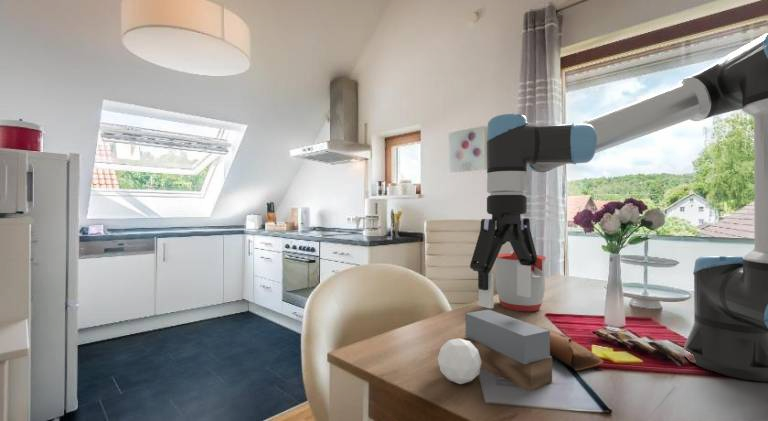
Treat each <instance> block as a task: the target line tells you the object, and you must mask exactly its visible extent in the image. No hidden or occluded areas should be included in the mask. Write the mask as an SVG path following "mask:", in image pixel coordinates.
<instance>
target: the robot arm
mask: <svg viewBox="0 0 768 421" xmlns="http://www.w3.org/2000/svg"><path fill="white" fill-rule="evenodd" d="M739 110H742V111H743V112H744V113H746V114H748V115H750V116H751V117H752V118H753V119H754V120H753V122H754V123H753V124H754V125H753V129H754V130H753V131H754V132H753V134H754V136H753V137H754V138H753V140H754V142H753V144H754V146H753V150H754V151H753V152H754V153H753V154H754V156H753V160H754V161H753V162H754V163H753V164H754V166H753V168H754V174H753V175H754V176H753V177H754V178H753V180H754V185H753V186H754V187H753V188H754V202H753V204H754V219H753V220H754V223H753V224H754V248H753V250H751V251H750V252H748V253H747V254H745V255H744V256H738V255H737V256H736V255H734V256H732V255H728V256H727V255H722V256H721V255H717V256H715V255H712V256H711V255H706V256H705V255H702V256H699V257H698V258H696V259H695V262H694V268H693V272H692V273H693V283H694V284H693V291H694V292H693V294H694V295H693V296H694V297H693V299H694V300H693V305H694V306H693V307H694V308H693V310H694V316H693V317H694V319H693V320H694V322H693V325H692V328H691V330H690V331H689V334H688V336H687V339H686V340H685V343H684V345H683V346H684V347H683V351H684V350H686V351H688V352H690V353H691V354H693V355H694V357H695V360H696V365H695V366H697V365H698V366H697V367H699V366H700V367H699V368H701V367H702V369H704V370H706V369H707V371H709V370H711V371H710V372H712V371H715V372H719V373H722V374H721V375H723V374H724V375H723V376H727V377H732V378H736V379H741V380H748V381H753V382H754V381H755V382H767V383H768V32H767V33H765V34H763V35H762V36H760V37H758V38H756V39H754V40H752V41H751V42H750V43H747V44H746V45H744V46H742V47H740V48H739V49H736V50H735V51H732V52H731V53H729V54H728V55H726V56H725V57H723V58H722V59H720V60H718V61H717V62H715V63H713V64H711V65H710V66H709V67H706V68H704V69H703V70H701V71H699V72H697V73H695V74H692V75H690V76H687V77H685V78H682V79H681V80H680V81H679V82H678V84H677V85H676V86H674V87H672V88H668V89H667V90H664V91H661V92H658V93H656V94H654V95H652V96H651V95H650V96H647V97H646V98H644V99H640V100H637V101H635V102H632V103H630V104H627V105H625V106H622V107H619V108H617V109H614V110H612V111H609V112H606V113H604V114H602V115H601V114H600V115H598V116H596V117H593V118H590V119H588V120H585V121H582V122H580V123H576V122H572V123H568V124H567V123H566V124H564V123H563V124H562V123H561V124H547V125H546V124H544V125H543V124H542V125H529V123H528V119H527V117H526V116H525V115H523V114H521V113H520V114H519V113H517V114H516V113H504V114H499V115H495V116H494V117H492V118H491V119H490V120H489V121H488V122H487V129H486V131H487V134H486V173H487V178H486V192H487V193H488V194H489V195H488V196H487V197H486V212H487V214H489V215H491V218H482V219H481V220H480V230H479V234H478V236H477V242H476V243H475V246H474V251H473V253H472V254H473V255H472V256H471V257H472V258H471V260H470V265H469V267H470V269H471V270H472V271H474V272H477V275H478V278H477V281H478V282H477V286H478V287H477V288H478V307H483V308H487V309H490V310H491V309H494V305H495V304H494V300H495V299H494V296H495V295H494V293H495V292H494V289H495V288H494V286H495V283H494V282H495V281H494V276H495V274H494V272H492V268H493V266H494V264H495V262H496V258H497V256H498V254H500V252H501V249H502V247H503V245H505V244H506V243H507V242H508V243H510V246H511V247H512V250H513V252H515V254H516V256H517V258H518V260H519V262H520V264H518V265H517V295H519V296H524V297H531V265H536V263H537V262H536V261H537V255H538V254H537V252H536V248H535V243H534V241H533V235H532V232H531V228H530V224H531V223H530V222H531V221H530V218H528V217H527V218H526V217H525V218H524V217H523V218H522V217H521V215H525V214H526V213H527V209H528V208H527V207H528V204H527V202H528V200H527V196H526V195H525V193H527V190H528V185H527V180H528V178H527V168H528V169H530V170H531V171H533V172H536V173H546V172H549V171H551V170H553V169H556V168H559V167H561V166H563V165H564V166H565V165H567V164H573V165H576V164H586V163H589V162H591V161H592V159H594V157H595V154H597V153H600V152H603V151H606V150H608V149H611V148H614V147H617V146H619V145H622V144H624V143H625V144H626V143H627V142H630V141H633V140H636V139H638V138H642V137H644V136H647V135H651V134H653V133H655V132H658V131H660V130H664V129H666V128H667V129H668V128H669V127H672V126H675V125H677V124H681V123H683V122H685V121H689V120H690V121H692V122H700V121H704V120H706V119H708V118H711V117H715V116H718V115H722V114H727V113H729V112H734V111H735V112H736V111H739ZM530 254H531V255H530ZM521 264H522V265H521ZM715 372H714V373H715ZM719 373H718V374H719Z"/></svg>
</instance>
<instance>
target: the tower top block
mask: <svg viewBox="0 0 768 421" xmlns="http://www.w3.org/2000/svg"><path fill="white" fill-rule="evenodd" d="M541 327H542V326H538V325H534V324H532V323H529V322H526V321H523V320H520V319H517V318H514V317H511V316H509V315H505V314H504V313H500V312H497V311H494V310H491V309H490V308H487V309H483V310H476V311H471V312H470V311H469V312H466V313H465V338H467V337H468V338H470V339H472V340H474V341H477V342H479V343H481V344H483V345H485V346H487V347H489V348H491V349H493V350H495V351H498V352H500V353H502V354H504V355H506V356H508V357H510V358H512V359H514V360H516V361H518V362H521V363H523V364H528V363H532V362H535V361H539V360H543V359H547V358H550V356H551V354H550V330H551V329H549V330H547V329H548V328H547V329H544V328H545V327H543V328H541Z"/></svg>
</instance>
